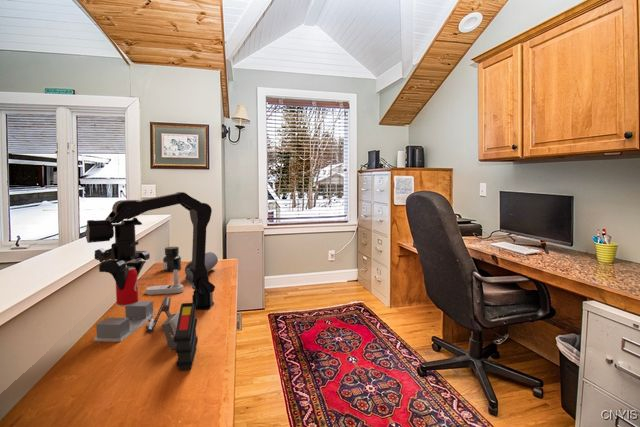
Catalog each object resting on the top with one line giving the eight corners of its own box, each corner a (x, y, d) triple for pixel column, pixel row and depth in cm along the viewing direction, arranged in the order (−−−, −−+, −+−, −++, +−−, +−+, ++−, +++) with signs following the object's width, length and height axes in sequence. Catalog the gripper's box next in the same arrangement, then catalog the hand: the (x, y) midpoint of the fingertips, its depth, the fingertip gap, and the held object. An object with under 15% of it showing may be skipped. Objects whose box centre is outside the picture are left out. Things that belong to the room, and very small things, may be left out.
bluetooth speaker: (202, 269, 184) (201, 250, 183) (218, 269, 184) (218, 251, 183) (183, 281, 162) (183, 260, 161) (202, 281, 161) (202, 261, 160)
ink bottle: (166, 267, 186) (165, 246, 185) (182, 267, 188) (182, 245, 187) (161, 272, 177) (160, 249, 175) (179, 271, 178) (178, 249, 177)
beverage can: (142, 300, 114) (140, 265, 113) (132, 307, 108) (130, 270, 107) (123, 300, 114) (122, 265, 113) (112, 307, 108) (110, 270, 107)
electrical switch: (182, 351, 95) (178, 319, 94) (164, 353, 95) (159, 321, 94) (193, 336, 105) (189, 307, 104) (176, 338, 104) (172, 309, 103)
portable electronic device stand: (149, 322, 115) (148, 298, 114) (174, 319, 117) (174, 295, 117) (146, 333, 106) (145, 307, 106) (173, 329, 109) (173, 304, 108)
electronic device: (147, 270, 146) (183, 268, 148) (148, 292, 147) (184, 289, 149) (142, 273, 141) (180, 271, 143) (144, 296, 142) (181, 293, 144)
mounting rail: (155, 314, 121) (155, 311, 121) (121, 341, 100) (121, 338, 100) (133, 313, 121) (133, 311, 121) (94, 341, 100) (94, 338, 100)
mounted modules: (153, 311, 121) (152, 301, 120) (120, 337, 101) (119, 324, 101) (133, 311, 121) (133, 300, 120) (96, 337, 101) (96, 324, 101)
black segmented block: (199, 338, 99) (195, 301, 92) (194, 380, 88) (189, 341, 81) (185, 339, 98) (180, 302, 91) (178, 382, 87) (172, 343, 80)
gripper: (118, 234, 119) (119, 278, 120) (79, 244, 100) (82, 295, 101) (149, 235, 119) (151, 278, 120) (117, 244, 100) (119, 296, 101)
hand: (127, 286), depth 111 cm, fingers closed on beverage can, 6 cm apart
